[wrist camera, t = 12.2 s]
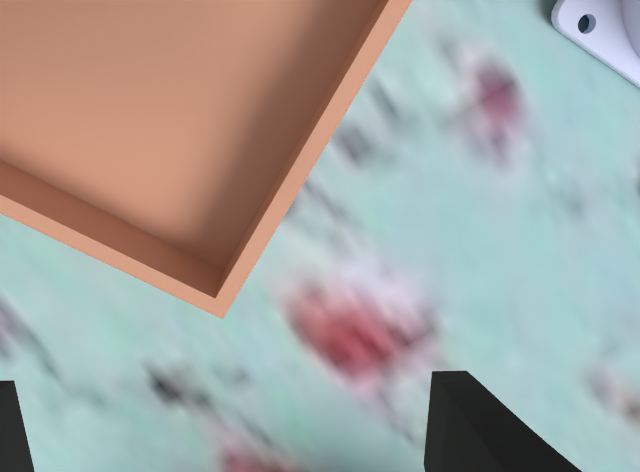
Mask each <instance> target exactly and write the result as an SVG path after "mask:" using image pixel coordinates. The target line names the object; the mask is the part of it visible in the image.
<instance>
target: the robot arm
mask: <svg viewBox="0 0 640 472" xmlns="http://www.w3.org/2000/svg"><path fill="white" fill-rule="evenodd" d="M583 15H586V16H587V17H588V18H589V26H588V28H587V30H585V31H584V32H583V33H581V32H580V31H579V29H578V22H579V20H580V18H581V17H582V16H583ZM551 20H552V24H553V26H554V27H555V28H556V29H557V30H558V31H559V32H560V33H562V34H563V35H565V36H566V37H568V38H569V39H570V40H572V41H573V42H575V43H576V44H578V45H579V46H580V47H582V48H583V49H585V50H586V51H587V52H589V53H590V54H592V55H593V56H595V57H596V58H597V59H599V60H600V61H602V62H603V63H605V64H606V65H607V66H609V67H610V68H612V69H613V70H614V71H616V72H617V73H619V74H620V75H622V76H623V77H624V78H626V79H627V80H629V81H630V82H632V83H633V84H634V85H636V86H637V87H639V88H640V0H558V1H557V3H556V4H555V6H554V8H553V10H552V15H551ZM424 467H425V472H582V471H581V470H579V469H578V468H577V467H575V466H574V465H573V464H572V463H570V462H569V461H568V460H567V459H566V458H564V457H563V456H562V455H561V454H560V453H558V452H557V451H556V450H555V449H554V448H552V447H551V446H550V445H549V444H548V443H546V442H545V441H544V440H543V439H542V438H541V437H539V436H538V435H537V434H536V433H535V432H534V431H533V430H531V429H530V428H529V427H528V426H527V425H526V424H525V423H524V422H522V421H521V420H520V419H519V418H518V417H517V416H516V415H515V414H513V413H512V412H511V411H510V410H509V409H508V408H507V407H506V406H505V405H504V404H503V403H501V402H500V401H499V400H498V399H497V398H496V397H495V396H494V395H493V394H492V393H491V392H489V391H488V390H487V389H486V388H485V387H484V386H483V385H482V384H481V383H480V382H479V381H477V380H476V379H475V378H474V377H473V376H472V375H471V374H470V373H468V372H467V371H434V372H432V379H431V390H430V401H429V412H428V423H427V434H426V445H425V456H424ZM0 472H34V467H33V463H32V459H31V454H30V450H29V445H28V441H27V436H26V432H25V427H24V423H23V419H22V414H21V410H20V405H19V401H18V396H17V392H16V387H15V383H14V381H0Z"/></svg>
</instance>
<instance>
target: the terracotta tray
mask: <svg viewBox="0 0 640 472" xmlns="http://www.w3.org/2000/svg"><path fill="white" fill-rule="evenodd" d="M411 2H412V0H0V213H1V214H3V215H6V216H8V217H10V218H12V219H14V220H16V221H18V222H20V223H22V224H24V225H27V226H29V227H31V228H33V229H35V230H37V231H39V232H41V233H43V234H45V235H47V236H50V237H52V238H54V239H56V240H58V241H60V242H62V243H64V244H66V245H68V246H71V247H73V248H75V249H77V250H79V251H81V252H83V253H85V254H87V255H89V256H92V257H94V258H96V259H98V260H100V261H102V262H104V263H106V264H108V265H110V266H112V267H115V268H117V269H119V270H121V271H123V272H125V273H127V274H129V275H131V276H133V277H136V278H138V279H140V280H142V281H144V282H146V283H148V284H150V285H152V286H154V287H156V288H159V289H161V290H163V291H165V292H167V293H169V294H171V295H173V296H175V297H177V298H180V299H182V300H184V301H186V302H188V303H190V304H192V305H194V306H196V307H198V308H200V309H203V310H205V311H207V312H209V313H211V314H213V315H215V316H217V317H219V318H221V319H223V318H224V316H225V315H226V313H227V311H228V310H229V308H230V306H231V305H232V303H233V301H234V300H235V298H236V296H237V294H238V293H239V291H240V289H241V288H242V286H243V284H244V283H245V281H246V279H247V278H248V276H249V274H250V273H251V271H252V269H253V268H254V266H255V264H256V263H257V261H258V259H259V258H260V256H261V254H262V252H263V251H264V249H265V247H266V246H267V244H268V242H269V241H270V239H271V237H272V236H273V234H274V232H275V231H276V229H277V227H278V226H279V224H280V222H281V221H282V219H283V217H284V215H285V214H286V212H287V210H288V209H289V207H290V205H291V204H292V202H293V200H294V199H295V197H296V195H297V194H298V192H299V190H300V189H301V187H302V185H303V184H304V182H305V180H306V179H307V177H308V175H309V173H310V172H311V170H312V168H313V167H314V165H315V163H316V162H317V160H318V158H319V157H320V155H321V153H322V152H323V150H324V148H325V147H326V145H327V143H328V142H329V140H330V138H331V136H332V135H333V133H334V131H335V130H336V128H337V126H338V125H339V123H340V121H341V120H342V118H343V116H344V115H345V113H346V111H347V110H348V108H349V106H350V105H351V103H352V101H353V100H354V98H355V96H356V94H357V93H358V91H359V89H360V88H361V86H362V84H363V83H364V81H365V79H366V78H367V76H368V74H369V73H370V71H371V69H372V68H373V66H374V64H375V63H376V61H377V59H378V57H379V56H380V54H381V52H382V51H383V49H384V47H385V46H386V44H387V42H388V41H389V39H390V37H391V36H392V34H393V32H394V31H395V29H396V27H397V26H398V24H399V22H400V21H401V19H402V17H403V15H404V14H405V12H406V10H407V9H408V7H409V5H410V4H411Z"/></svg>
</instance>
